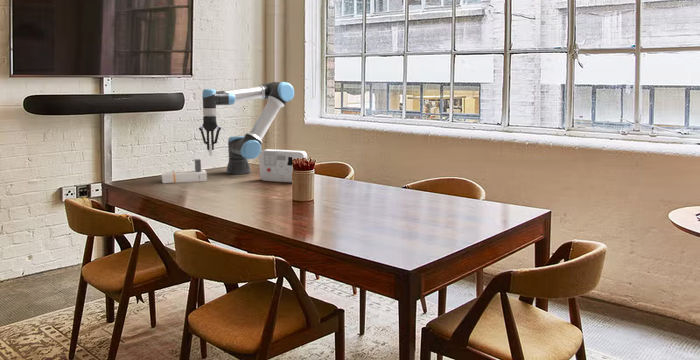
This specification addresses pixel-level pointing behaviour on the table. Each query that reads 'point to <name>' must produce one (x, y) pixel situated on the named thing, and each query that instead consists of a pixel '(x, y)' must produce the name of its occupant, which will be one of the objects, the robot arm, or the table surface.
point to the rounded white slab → (278, 164)
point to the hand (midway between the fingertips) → (210, 155)
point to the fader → (197, 165)
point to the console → (184, 176)
